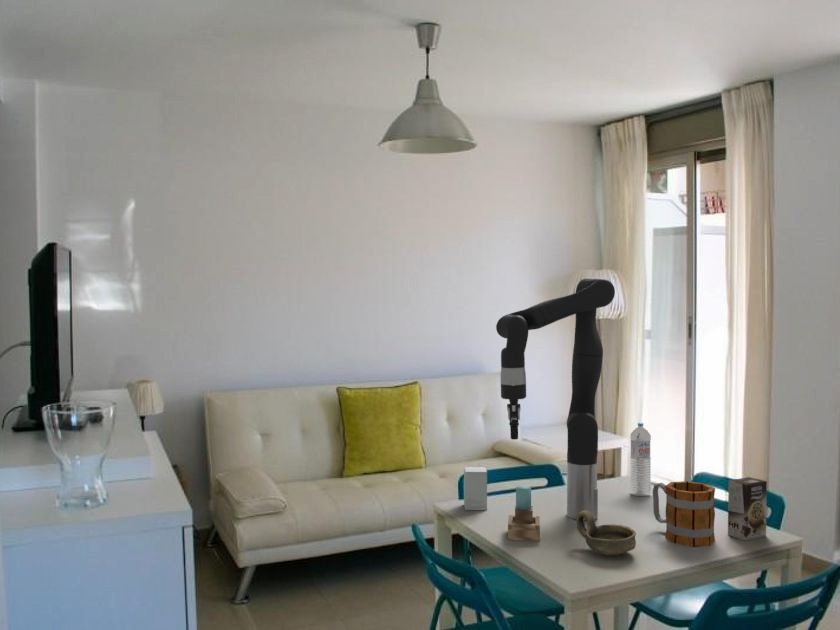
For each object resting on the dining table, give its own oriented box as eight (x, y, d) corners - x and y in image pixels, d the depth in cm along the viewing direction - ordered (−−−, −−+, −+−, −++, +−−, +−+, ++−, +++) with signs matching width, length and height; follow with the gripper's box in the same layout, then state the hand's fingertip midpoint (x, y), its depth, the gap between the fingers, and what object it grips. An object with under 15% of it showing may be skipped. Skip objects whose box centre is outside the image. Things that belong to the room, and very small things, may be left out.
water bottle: (631, 496, 260) (631, 424, 259) (629, 491, 267) (629, 421, 266) (651, 497, 259) (652, 425, 258) (649, 492, 266) (649, 421, 265)
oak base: (539, 531, 223) (539, 516, 223) (539, 540, 214) (539, 525, 214) (508, 529, 224) (508, 515, 224) (508, 539, 215) (507, 524, 215)
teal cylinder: (531, 506, 221) (531, 485, 221) (531, 510, 217) (531, 489, 216) (516, 505, 222) (516, 485, 221) (515, 509, 217) (515, 489, 217)
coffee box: (745, 541, 213) (746, 484, 213) (726, 534, 219) (727, 479, 218) (767, 536, 217) (767, 480, 217) (748, 530, 223) (748, 476, 223)
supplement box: (487, 510, 244) (487, 471, 244) (464, 510, 245) (464, 471, 244) (485, 504, 252) (485, 466, 251) (463, 504, 252) (463, 466, 252)
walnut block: (532, 522, 221) (532, 505, 221) (532, 528, 216) (532, 510, 216) (515, 522, 222) (515, 505, 222) (515, 527, 217) (515, 510, 217)
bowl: (620, 566, 194) (620, 528, 194) (563, 550, 207) (563, 514, 206) (647, 553, 204) (647, 516, 203) (591, 538, 216) (591, 504, 216)
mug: (725, 541, 213) (725, 488, 213) (695, 550, 206) (695, 495, 205) (668, 523, 230) (668, 474, 229) (638, 531, 222) (638, 481, 222)
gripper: (501, 379, 232) (502, 432, 232) (500, 385, 218) (501, 441, 218) (525, 379, 231) (526, 432, 231) (526, 385, 217) (527, 441, 217)
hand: (514, 436), depth 225 cm, fingers open, 8 cm apart
